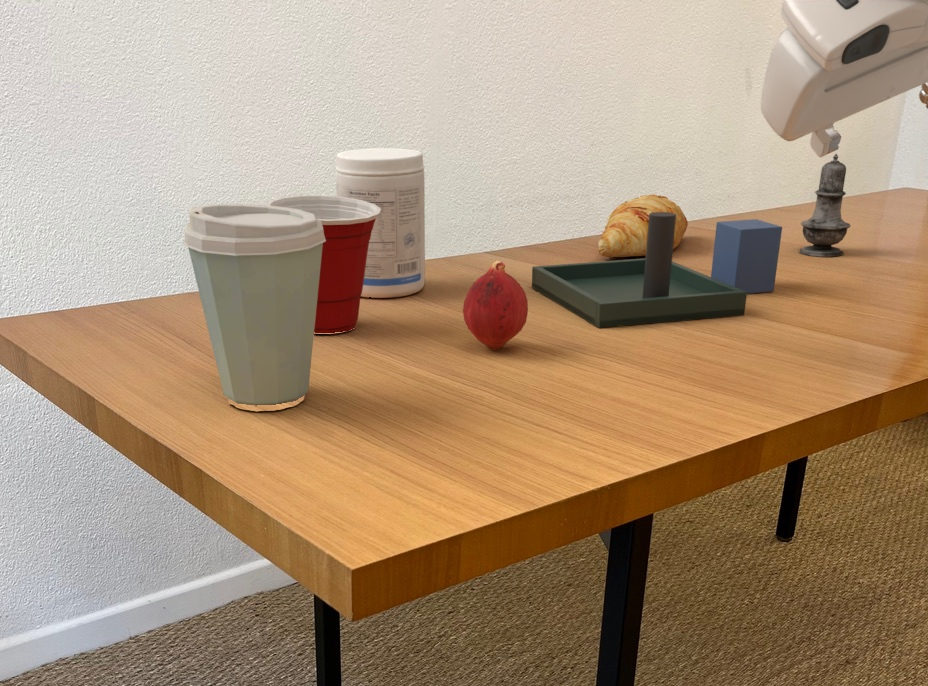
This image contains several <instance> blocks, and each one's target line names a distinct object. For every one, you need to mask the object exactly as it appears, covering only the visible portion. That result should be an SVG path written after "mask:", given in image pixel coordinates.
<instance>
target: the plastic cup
mask: <svg viewBox="0 0 928 686" xmlns="http://www.w3.org/2000/svg"><path fill="white" fill-rule="evenodd" d="M266 205H270V206H278V207H286V208H294V209H299V210H302V211H306V212H309V213H312V214H314V215H315V217H316V219H319V220H320V221H321V222H322V226H323V230H324V236H325V240H326V241H325V242H323V246H322V257H321V267H320V277H319V287H318V297H317V307H316V317H315V327H314V332H315V333H335V332H343V331H349V330H351V329H353V328H355V329H356V327H357V323H358V320H359V314H360V313H359V312H360V304H361V298H362V297H361V294H362V289H363V282H364V275H365V268H366V260H367V253H368V246H369V241H370V238H371V232H372V229H373V226H374V222H375V220H376V218H378V216H379V214H380V211H381V209H380V208H379V207H378V206H376V205H375V204H372V203H369V202H366V201H362V200H358V199H351V198H345V197H337V196H335V195H334V196H332V195H295V196H285V197H280V198H277V199H273V200H270V201H268V202H267V203H266ZM355 326H356V327H355Z"/></svg>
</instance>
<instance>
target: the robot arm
mask: <svg viewBox="0 0 928 686" xmlns="http://www.w3.org/2000/svg"><path fill="white" fill-rule="evenodd" d="M780 9H781V11H780V15H781V18H782V19H783V21H784V23H785V25H786V26H787V27H786V28H785V29H784V30H783V31H782V32H781V33H780V35H778V37H777V39H776V40H775V42H774V44H773V46H772V48H771V52H770V54H769V57H768V61H767V66H766V69H765V73H764V78H763V83H762V89H761V96H760V111H761V114H762V116H763V118H764V119H765V121H766V122H767V124H768V125H769V127H770V128H771V129H772V131H774V133H775V134H776V135H777V136H779V137H780V138H781V139H783V140H784V141H786V142H793V141H796V140H798V139H801V138H803V137H805V136H807V135H809V134H811V136H810V140H809V144H810V147H811V149H812V150H813V151H814V153H815V154H816V156H817V157H818V158H823V157H825V156H827V155H829V154H831V153H834V152H836V151H838V150H839V148H840V145H839V144H840V143H841V140H842V135H841V134H840V133H839V131H838V130H835V126H834V124H835V123H837V122H839V121H841V120H844V119H846V118H848V117H851V116H854V115H856V114H857V113H860V112H862V111H864V110H867V109H869V108H871V107H875V106H876V105H878V104H881V103H883V102H885V101H888V100H891V99H893V98H894V97H897V96H899V95H901V94H904V93H906V92H908V91H911V90H913V89H915V88H917V87H920V86H921V89H920V91H919V93H918V98H919V101H920V102H921V103H922V104H924V105H925V108H926V109H927V110H928V0H783V1H782V4H781V8H780Z"/></svg>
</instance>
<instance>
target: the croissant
mask: <svg viewBox="0 0 928 686" xmlns="http://www.w3.org/2000/svg"><path fill="white" fill-rule="evenodd" d="M653 212H670V213H674V214H676V222H675V233H674V243H673V250H674V249H676V248H677V247H678V246H679V245H680V244H681V241H682V239H683V237H684V235H685V233H686V232H687V229H688V224H689V223H688V219H687V217H686V215H685V213H684V212H683V210H682V208H681V207H680V206H679V205H677V204H676V202H674V201H672V200H670V199H669V198H668V196H664V195H658V194H647V195H645V194H644V195H640V196H639V197H634V198H633V199H630V200H627V201H624V202H622V203H620V205H618V206H617V207H615V208H614V210H613V211H612V212H611V214H610V215H609V216H608V218H607V223H606V224H605V226H604V230H603V231H602V233H601V238H600V239H599V240H598V241H597V244H598V247H597V249H598V253H599V254H600V255H601V256H602V257H607V258H628V257H630V258H631V257H646V247H647V235H648V222H649V214H650V213H653Z"/></svg>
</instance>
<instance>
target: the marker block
mask: <svg viewBox="0 0 928 686" xmlns="http://www.w3.org/2000/svg"><path fill="white" fill-rule="evenodd" d="M715 225H716V226H715V234H714V235H715V236H714V242H713V243H714V244H713V254H712V264H711V273H710V277H712V278H714V279H717V280H719V281H722V282H724V283H727V284H729V285H731V286H734V287H736V288H739V289H741V290H744V291H746V292H747V295H750V294H763V293H773V292H775V284H776V278H777V277H776V276H777V269H778V262H779V255H780V247H781V239H782V232H783V226H781V225H779V224H774V223H772V222H771V223H770V222H767V221H764V220H761V219H757V218H754V219H753V218H752V219H741V220H740V219H739V220H724V221H723V220H722V221H716V224H715Z"/></svg>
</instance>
